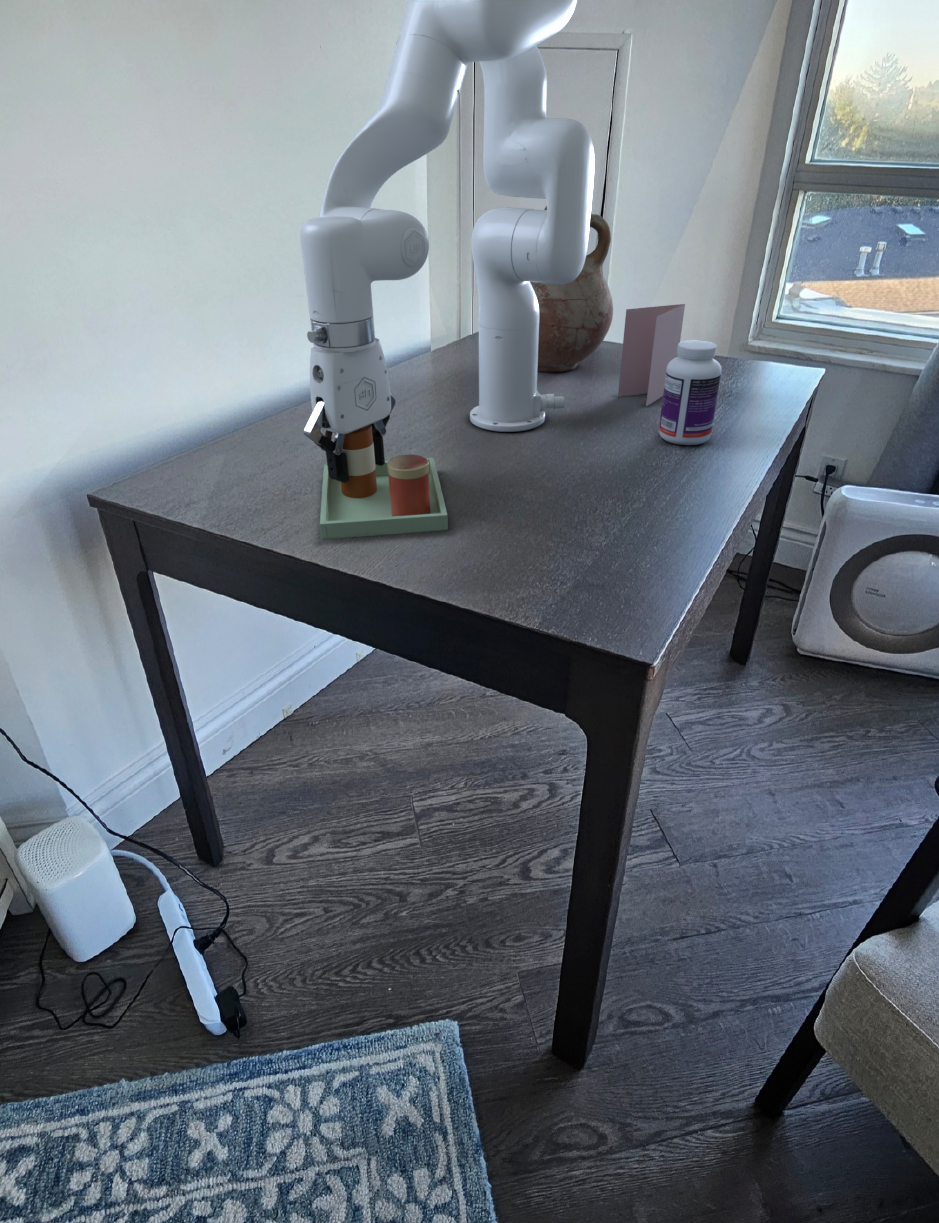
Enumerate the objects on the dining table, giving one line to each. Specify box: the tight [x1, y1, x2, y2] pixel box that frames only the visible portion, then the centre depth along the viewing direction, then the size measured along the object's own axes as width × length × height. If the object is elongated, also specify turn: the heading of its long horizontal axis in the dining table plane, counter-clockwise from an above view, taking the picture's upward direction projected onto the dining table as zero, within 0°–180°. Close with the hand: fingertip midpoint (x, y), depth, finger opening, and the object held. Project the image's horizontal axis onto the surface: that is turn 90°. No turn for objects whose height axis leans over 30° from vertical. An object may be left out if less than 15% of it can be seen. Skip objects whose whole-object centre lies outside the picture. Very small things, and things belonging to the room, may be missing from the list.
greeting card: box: [617, 303, 686, 407], centre depth 132 cm, size 11×7×15 cm, turn 108°
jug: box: [530, 205, 614, 373], centre depth 145 cm, size 22×22×30 cm
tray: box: [319, 457, 449, 540], centre depth 99 cm, size 15×18×3 cm
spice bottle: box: [341, 424, 377, 498], centre depth 99 cm, size 5×5×12 cm
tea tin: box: [387, 453, 430, 517], centre depth 95 cm, size 5×5×7 cm
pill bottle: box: [658, 339, 722, 446], centre depth 115 cm, size 8×8×14 cm
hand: (357, 470), depth 101 cm, fingers open, 6 cm apart
